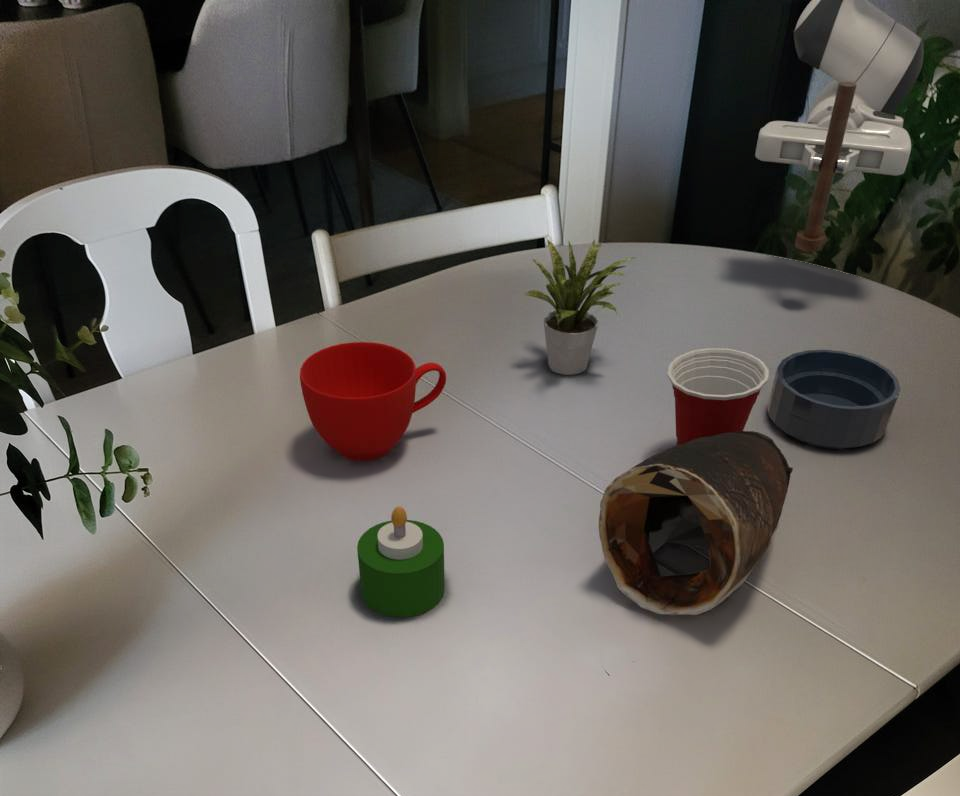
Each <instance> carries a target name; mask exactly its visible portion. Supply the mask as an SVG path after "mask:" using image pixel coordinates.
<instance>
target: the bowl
mask: <svg viewBox="0 0 960 796" xmlns="http://www.w3.org/2000/svg"><path fill="white" fill-rule="evenodd" d="M900 392H901V385H900V381H899V378H898V377H897V376H896V375H895V374H894V373H893V372H892V370H891V369H889V368H888V367H886V366H884V365H883V364H881V363H880V362H878V361H875V360H872V359H871V358H868V357H865V356H864V355H859V354H855V353H852V352H849V351H848V352H847V351H842V350H832V349H808V350H803V351H799V352H795V353H792V354H789V355H788V356H786V357H785V358H783V359H782V360H781V361H780V363H779V364H778V366H777V367H776V371H775V374H774V379H773V382H772V388H771V391H770V395H769V399H768V403H767V412H768V416H769V418H770V419H771V421H772V423H773V424H774V425H775V426H777V427H778V429H780V430H781V431H783V432H784V433H786V435H788V436H790V437H791V438H793V439H794V440H797V441H798V442H799V441H800V442H801V443H804V444H808V445H810V446H814V447H817V448H823V449H833V450H834V449H835V450H841V449H842V450H843V449H853V448H859V447H862V446H866V445H870V444H873V443H875V442H876V441H878V440H880V439H881V438H882V437H884V435H885V433H886V431H887V429H888V427H889V424H890V421H891V418H892V416H893V412H894V409H895V405H896V404H897V401H898V397H899V395H900Z"/></svg>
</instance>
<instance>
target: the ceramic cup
mask: <svg viewBox="0 0 960 796" xmlns="http://www.w3.org/2000/svg"><path fill="white" fill-rule="evenodd" d="M433 371H434V372H438V379H437V382H436V384H435V386H434V387H433V388H432V390H431V391H429V393H427V394H426V395H424V396H423V397H421V398H420V399H417V400H416V391H417V390H416V389H417V384H418V382H419V380H420V379H421V378H422V377H423V376H424V375H426V374H428V373H429V372H433ZM299 381H300V387H301V392H302V398H303V402H304V404H305V405H304V406H305V408H306V412H307V414H308V417H309V420H310V422H311V424H312V426H313V428H314V429H315V432H316V433H317V434H318V436H319V437H320V438H321V439H322V441H324V443H326V444H327V445H328V446H329V447H330V448H331V449H332V450H334V451H335V452H337V453H338V454H339V455H340V456H341V457H343V458H344V459H347V460H350V461H355V462H356V461H357V462H367V461H368V462H370V461H374V460H378V459H380V458H383V457H384V456H386V455H388V454H389V453H390V452H391V450H392V448H393V447H395V446H396V445H397V444H398V442H399V441H400V440H401V439H402V437H403V436H404V434H405V433H406V431H407V429H408V427H409V425H410V423H411V419H412V415H413V414H414V413H416V412H417V411H420V410H422V409H424V408H425V407H427V406H428V405H430V404H431V403H433V402H434V401H435V400H437V398H438V397H439V396H440V395H441V394H442V392H443V390H444V388H445V386H446V383H447V373H446V371H445V370H444V367H443V366H442V365H440V364H439V363H437V362H426V363H423V364H421V365H419V366H418V367H416V363H415V362H414V359H413V358H412V357H411V356H410V355H409V354H408V353H406V352H405V351H403V350H401V349H400V348H397V347H395V346H392V345H389V344H385V343H379V342H370V341H369V342H368V341H354V342H353V341H352V342H344V343H339V344H334V345H331V346H328V347H325V348H322V349H320V350H317V351H316V352H314V353H312V354H311V355H310V356H308V357H307V358H306V359H305V360H304V362H303V363H302V365H301V367H300V369H299Z"/></svg>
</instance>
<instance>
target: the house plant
mask: <svg viewBox="0 0 960 796" xmlns="http://www.w3.org/2000/svg"><path fill="white" fill-rule="evenodd" d="M546 240H547V245H548V250H549V254H550V258H551V263H552V269H553V270H552V274H551V273H550V271H548V270H547V269H546V267H545V266H544V265H543V264H541V262H539V261H537V259H533V258H531V260H532V261H533V263H534V264H536V266H538V268H539V269H540V271H541V273H542V274H543V275H544V276H545V278H546V279H547V280H548V282H549V283H547V284H546V285H545V287H546V290H547V292H548V293H549V295H550V296H551V298H550V296H548V295H547V294H546V293H544V292H542V291H541V290H537V289H532V290H529V291H526V292H525V293H524V296H528V297H531V298H536V299H539V300H542V301H545V302H547V303H548V304H550V305H551V306H552V308H553V309H554V310H553V311H551V312H549V313H548V314H546V315H545V317H544V318H543V328H544V337H545V346H546V347H545V348H546V355H547V364H548V367H549V369H550V370H551V371H552V372H554V373H556V374H560V375H566V376H567V375H568V376H573V375H578V374H581V373H582V372H585V371H586V370H587V368H588V364H589V360H590V357H591V354H592V353H591V352H592V349H593V345H594V341H595V338H596V335H597V332H598V331H597V330H598V327H599V320H598V319H597V317H596V316H594V314H595V313H598V311H600V309H601V308H599V309H598V310H597V311H595V312H594V313H590V312H588V311H589V310H590V309H591V307H593V306H594V307H595V306H600V307H602V309H605V308H608V309H609V310H612V311H613V312H615V313H616V316H619V315H618V312H617V310H618V308H617V307H615V305H613V303H611V302H608V301H603V300H602V299H604V298H606V297H608V296H611V295H614V294H615V295H616V293H615V292H614V291H612V290H611V288H613V287H615V286H620V285H621V284H622V285H623V283H622V282H620V283H619V282H618V283H611V284H609V285H605V284H603V283H602V282H603V281H604V280H606V278H607V277H608V276H610V275H615V276H624V277H626V275H625V274H624V273H621V272H617V271H616V270H618V269H622V268H623V269H624V268H626V267H627V266H626V265H621V264H623V263H625V262H628V261H632V260H633V259H635V258H637V256H632V257H625V258H623V259H620V260H617V261H615V262H612V263H611V264H609V265H608V266H607V267H605V268H604V269H601V270H597V271H596V272H593V273H592V271H593V269H594V267H595V265H596V263H597V257H598V252H599V251H600V249H601V247H602V244H603V243H604V242H603V241H602V242H600V243H598V244H597V245H596V239H594V240H593V241H592V243H591V245H590V247H589V249H588V251H587V253H586V255H585V258H584V259H583V261H582V263H581V265H580V267H579V270H578V271H577V262H576V259H575V258H576V257H575V254H574V251H573V246H572V244H571V242H570V241H568V257H569V258H568V259H569V261H568V262H569V266H568V265H567V264H564V261H563V257H562V256H561V254H560V253H559V252H558V250H557V248H556V247H555V245H554V243H553V242H551V241H550V240H549V239H548V238H547V239H546ZM566 273H567V275H568V278H567V277H566ZM592 278H593V280H592V281H591V282H590V283H589V284H588V286H587V287H585V286H586V284H587V282H588V281H589V280H591V279H592ZM597 288H602V289H600V290H598V291H596V290H597Z"/></svg>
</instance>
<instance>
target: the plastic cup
mask: <svg viewBox="0 0 960 796" xmlns="http://www.w3.org/2000/svg"><path fill="white" fill-rule="evenodd" d="M769 371H770V370H769V368H768V367H767V364H765V363H764V361H763V360H762V359H760V358H758V357H756V356H754V355H753V354H751V353H749V352H745V351H741V350H737V349H734V348H720V347H707V348H700V349H694V350H691V351H688V352H686V353H683V354H681V355H678V356H677V357H675V358H674V359H673V361H671V362H670V363H669V364H668V369H667V377H668V379H669V381H670V383H671V385H672V390H673V397H674V410H675V411H674V413H675V436H676V445H680V444H684V443H687V442H689V441H691V440H694V439H697V438H701V437H709V436H715V435H718V434H723V433H732V432H736V431H744V430H745V427H746V425H747V422H748V420H749V417H750V415H751V412H752V410H753V406H754V405H755V404H756V402H757V399H758V396H759V395H760V393H761V390H762V389H763V387H764V386H765V385H766V384H767V382H768V380H769Z"/></svg>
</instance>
